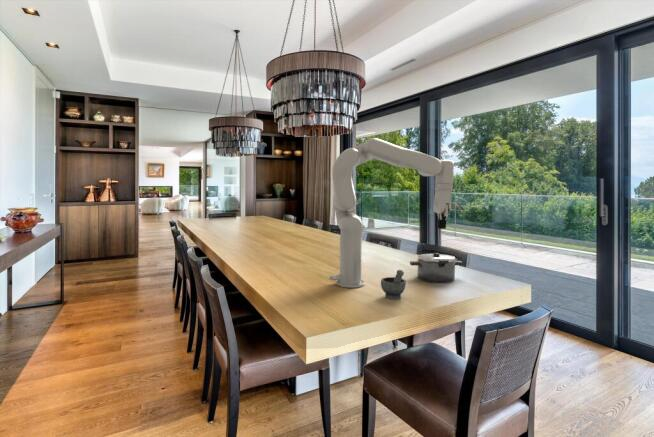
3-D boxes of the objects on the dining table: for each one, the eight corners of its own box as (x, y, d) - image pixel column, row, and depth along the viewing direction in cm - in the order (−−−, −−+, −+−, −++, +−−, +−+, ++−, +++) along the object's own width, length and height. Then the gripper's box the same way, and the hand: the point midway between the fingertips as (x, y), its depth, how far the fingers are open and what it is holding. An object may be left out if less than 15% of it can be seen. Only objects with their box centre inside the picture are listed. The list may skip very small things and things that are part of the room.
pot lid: (425, 263, 159) (425, 257, 159) (413, 256, 178) (413, 250, 178) (463, 263, 160) (463, 257, 160) (446, 256, 179) (447, 250, 179)
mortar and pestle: (376, 294, 144) (377, 265, 143) (397, 292, 148) (397, 264, 146) (390, 303, 134) (391, 272, 133) (412, 300, 137) (412, 270, 136)
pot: (415, 283, 162) (416, 263, 161) (405, 273, 180) (405, 255, 179) (468, 282, 163) (469, 263, 162) (452, 273, 181) (453, 255, 180)
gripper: (429, 187, 167) (428, 226, 169) (441, 187, 152) (439, 230, 154) (445, 188, 168) (443, 226, 169) (458, 188, 153) (456, 230, 154)
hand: (441, 228), depth 162 cm, fingers closed
